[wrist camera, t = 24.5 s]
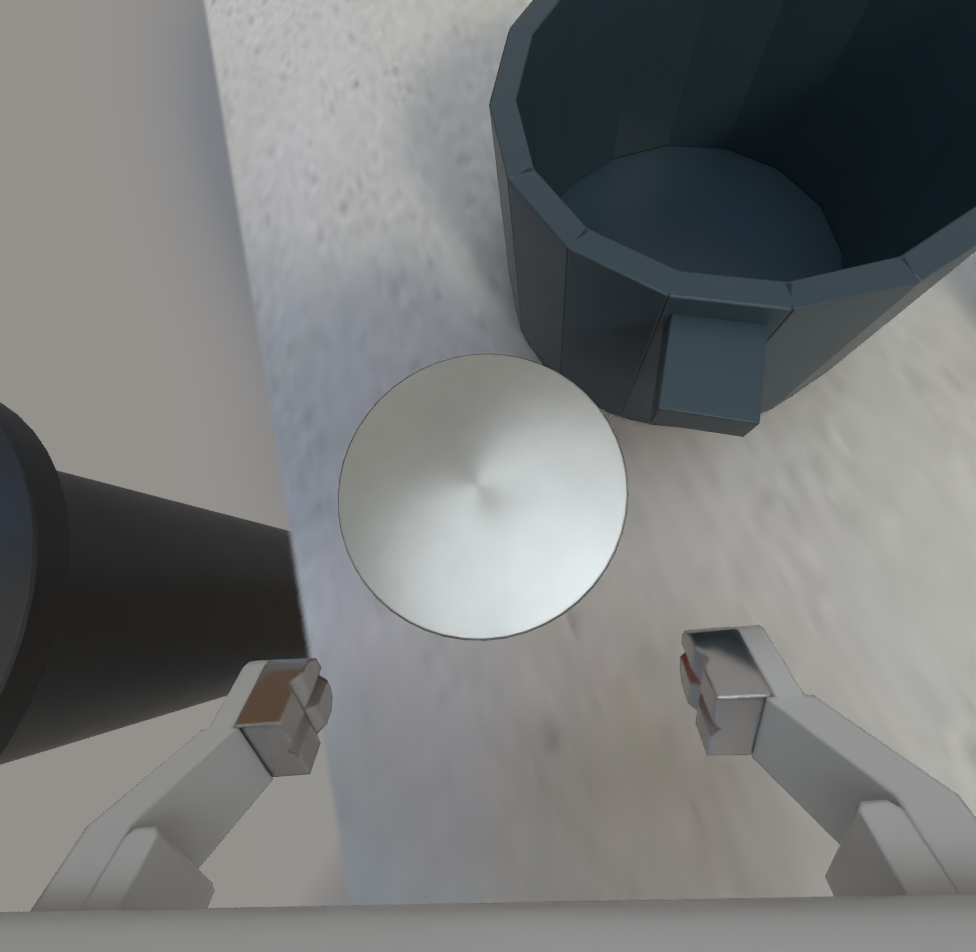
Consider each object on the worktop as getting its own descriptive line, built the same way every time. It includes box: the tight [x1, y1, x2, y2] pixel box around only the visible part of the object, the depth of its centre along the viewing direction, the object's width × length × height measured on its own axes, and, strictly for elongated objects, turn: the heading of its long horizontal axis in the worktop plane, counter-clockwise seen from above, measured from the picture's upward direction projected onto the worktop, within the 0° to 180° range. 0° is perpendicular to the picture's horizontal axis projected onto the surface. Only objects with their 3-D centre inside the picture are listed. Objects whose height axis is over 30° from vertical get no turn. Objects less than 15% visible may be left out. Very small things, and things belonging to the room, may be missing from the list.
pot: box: [489, 0, 976, 437], centre depth 17 cm, size 15×20×8 cm
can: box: [338, 354, 628, 641], centre depth 15 cm, size 7×7×9 cm
